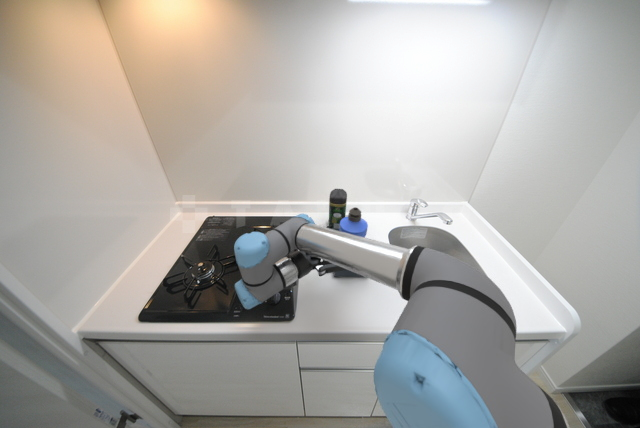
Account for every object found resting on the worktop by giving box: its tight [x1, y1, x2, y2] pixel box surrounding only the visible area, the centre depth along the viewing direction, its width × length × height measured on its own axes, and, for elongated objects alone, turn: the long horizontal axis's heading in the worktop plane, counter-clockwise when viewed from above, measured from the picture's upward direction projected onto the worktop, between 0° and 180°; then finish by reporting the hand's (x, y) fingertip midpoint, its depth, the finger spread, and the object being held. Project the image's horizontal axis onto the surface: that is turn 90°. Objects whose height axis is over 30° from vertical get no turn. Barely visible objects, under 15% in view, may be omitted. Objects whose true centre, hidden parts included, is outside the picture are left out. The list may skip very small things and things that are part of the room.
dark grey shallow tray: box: [332, 228, 365, 278], centre depth 85 cm, size 24×12×4 cm, turn 0°
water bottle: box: [340, 207, 369, 238], centre depth 74 cm, size 9×9×25 cm
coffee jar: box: [328, 188, 348, 228], centre depth 97 cm, size 10×8×19 cm
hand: (345, 237), depth 71 cm, fingers open, 13 cm apart
